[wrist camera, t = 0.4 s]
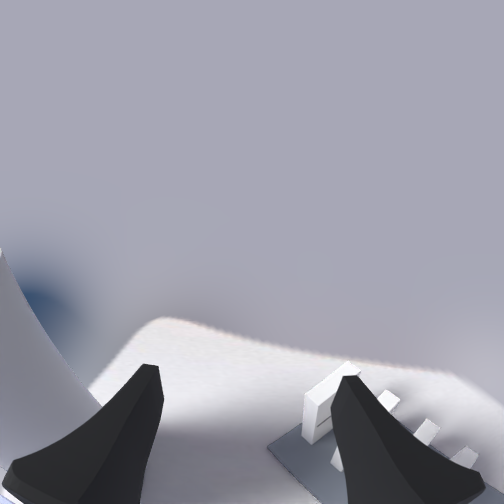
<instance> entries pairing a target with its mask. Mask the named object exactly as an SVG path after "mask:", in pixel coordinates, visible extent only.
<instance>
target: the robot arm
mask: <svg viewBox="0 0 504 504" xmlns="http://www.w3.org/2000/svg"><path fill="white" fill-rule="evenodd" d="M163 403H164V395H163V390H162V384H161V379H160V373H159V367H158V366H155V365H149V364H143V365H141V366H140V368H139V369H138V370H137V371H136V372H135V374H134V375H133V376H132V377H131V378H130V379H129V380H128V382H127V383H126V384H125V385H124V386H123V387H122V388H121V389H120V390H119V391H118V392H117V393H116V394H115V395H114V397H113V398H112V399H111V400H110V401H109V402H108V403H107V404H105V405H104V406H103V407H102V408H101V409H100V410H99V411H98V412H97V413H96V414H95V415H93V416H92V417H91V418H90V419H89V420H87V421H86V422H85V423H84V424H82V425H81V426H80V427H78V428H77V429H75V430H74V431H72V432H71V433H69V434H68V435H66V436H65V437H63V438H62V439H60V440H58V441H57V442H55V443H53V444H51V445H49V446H47V447H45V448H43V449H41V450H39V451H37V452H34V453H32V454H29V455H27V456H24V457H21V458H18V459H15V460H13V461H12V463H11V465H10V467H9V469H8V471H7V473H6V475H5V477H4V480H3V482H2V486H3V487H4V488H5V489H6V490H7V491H8V492H9V493H11V494H12V495H13V496H14V497H16V498H17V499H18V500H20V501H21V502H22V503H24V504H140V497H141V490H142V484H143V478H144V472H145V468H146V464H147V461H148V457H149V454H150V451H151V448H152V445H153V442H154V438H155V435H156V432H157V429H158V426H159V423H160V419H161V414H162V408H163ZM330 409H331V418H332V426H333V431H334V435H335V439H336V443H337V446H338V450H339V454H340V458H341V462H342V465H343V469H344V474H345V479H346V487H347V497H348V504H468V503H470V502H471V501H473V500H474V499H475V498H477V497H478V496H479V495H481V494H482V493H483V492H484V491H485V489H486V486H485V484H484V482H483V479H482V477H481V475H480V473H479V472H477V471H474V470H471V469H469V468H466V467H464V466H461V465H459V464H457V463H455V462H453V461H451V460H449V459H447V458H445V457H444V456H442V455H440V454H439V453H437V452H436V451H434V450H432V449H431V448H429V447H428V446H427V445H425V444H424V443H422V442H421V441H420V440H419V439H417V438H416V437H415V436H414V435H412V434H411V433H410V432H409V431H408V430H407V429H405V428H404V427H403V426H402V425H401V424H400V423H399V422H398V421H397V420H396V419H395V418H394V417H393V416H392V415H391V414H390V413H389V412H388V411H387V409H386V408H385V407H384V406H383V405H382V404H381V403H380V402H379V401H378V399H377V398H376V397H375V396H374V395H373V394H372V392H371V391H370V390H369V389H368V388H367V386H366V385H365V384H364V383H363V382H362V381H361V379H360V378H359V377H358V376H357V375H348V376H343V377H342V379H341V382H340V385H339V387H338V390H337V392H336V395H335V397H334V399H333V402H332V404H331V407H330ZM0 504H15V503H13V502H11V501H10V500H8V499H7V498H5V497H4V496H2V495H1V494H0Z"/></svg>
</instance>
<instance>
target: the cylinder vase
mask: <svg viewBox="0 0 504 504" xmlns="http://www.w3.org/2000/svg"><path fill="white" fill-rule="evenodd" d="M101 408H102V406H101V405H100V404H99V402H98V401H97V400H96V399H95V398H94V397H93V396H92V394H91V393H90V392H89V391H88V390H87V388H86V387H85V386H84V385H83V383H82V382H81V381H80V380H79V378H78V377H77V376H76V375H75V373H74V372H73V371H72V369H71V368H70V367H69V366H68V364H67V363H66V361H65V360H64V359H63V357H62V356H61V355H60V353H59V351H58V350H57V349H56V347H55V346H54V344H53V343H52V341H51V340H50V338H49V337H48V335H47V334H46V332H45V331H44V329H43V328H42V326H41V324H40V323H39V321H38V319H37V318H36V316H35V314H34V313H33V311H32V310H31V308H30V306H29V304H28V302H27V301H26V299H25V297H24V295H23V293H22V291H21V289H20V288H19V286H18V284H17V282H16V280H15V278H14V276H13V274H12V272H11V269H10V267H9V265H8V263H7V261H6V259H5V257H4V254H3V252H2V250H1V248H0V467H1V468H3V469H4V470H6V471H8V469H9V467H10V465H11V463H12V461H13V460H15V459H18V458H21V457H24V456H27V455H29V454H32V453H34V452H37V451H39V450H41V449H43V448H45V447H47V446H49V445H51V444H53V443H55V442H57V441H58V440H60V439H62V438H63V437H65V436H66V435H68V434H69V433H71V432H72V431H74V430H75V429H77V428H78V427H80V426H81V425H82V424H84V423H85V422H86V421H87V420H89V419H90V418H91V417H92V416H93V415H95V414H96V413H97V412H98V411H99V410H100V409H101Z"/></svg>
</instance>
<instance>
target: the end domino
mask: <svg viewBox="0 0 504 504" xmlns="http://www.w3.org/2000/svg"><path fill="white" fill-rule="evenodd" d="M360 372H361V370H360V369H358V368H357V367H356V366H354V365H353V364H352V363H350V362H349V361H346V362H345V363H344V364H343V365H342V366H340V367H339V368H338V369H337V370H335V371H334V372H333V373H331V374H330V375H329V376H328V377H326V378H325V379H324V380H322V381H321V382H320V383H319V384H317V385H316V386H315V387H313V388H312V389H310V390H309V391H308V392H306V393H305V396H304V410H303V423H302V435H301V436H302V437H303V438H304V439H305V440H307V441H308V442H309V443H310V444H311V445H312V444H314V443H315V442H316V441H318V440H319V439H320V438H321V437H323V436H324V435H325V434H327V433H328V432H329V431H330V430H331V429H333V426H332V418H331V409H330V407H331V404H332V402H333V399H334V397H335V395H336V392H337V390H338V387H339V385H340V382H341V379H342V377H343V376H348V375H357V376H358V377H359V376H360Z"/></svg>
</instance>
